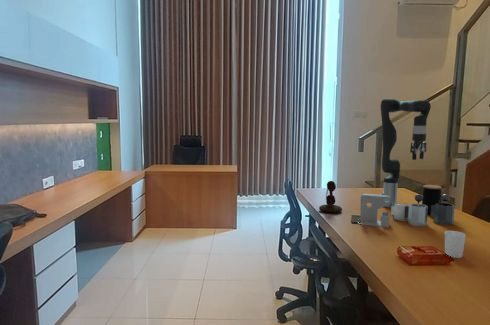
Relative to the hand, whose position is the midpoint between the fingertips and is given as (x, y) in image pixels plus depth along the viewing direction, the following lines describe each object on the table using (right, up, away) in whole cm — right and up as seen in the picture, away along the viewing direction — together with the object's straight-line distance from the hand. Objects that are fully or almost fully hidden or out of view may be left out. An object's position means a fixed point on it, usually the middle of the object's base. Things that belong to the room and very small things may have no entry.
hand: (417, 159), depth 219 cm
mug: (-12, -37, -4) cm, 39 cm away
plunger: (-7, -37, -14) cm, 40 cm away
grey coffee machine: (-32, -38, -14) cm, 52 cm away
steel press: (-8, -38, -13) cm, 41 cm away
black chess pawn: (-51, -35, +14) cm, 63 cm away
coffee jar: (+13, -35, +10) cm, 39 cm away
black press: (+9, -38, -11) cm, 40 cm away
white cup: (-15, -43, -63) cm, 78 cm away
